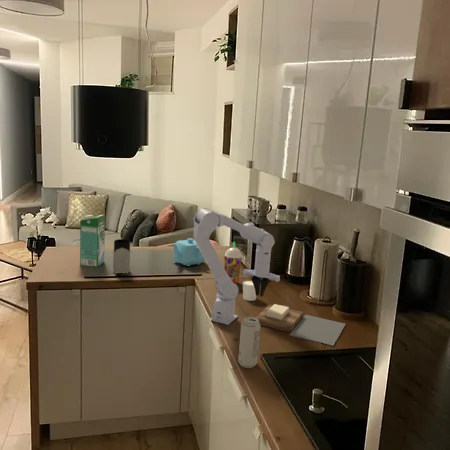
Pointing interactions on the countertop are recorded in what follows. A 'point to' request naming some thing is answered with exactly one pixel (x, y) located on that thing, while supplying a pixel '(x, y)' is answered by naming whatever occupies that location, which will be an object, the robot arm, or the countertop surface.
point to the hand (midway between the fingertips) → (259, 295)
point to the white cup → (249, 291)
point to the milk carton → (92, 240)
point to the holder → (121, 256)
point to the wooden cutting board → (283, 324)
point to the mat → (318, 330)
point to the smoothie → (233, 263)
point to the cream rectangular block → (277, 311)
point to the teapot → (187, 252)
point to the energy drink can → (249, 342)
